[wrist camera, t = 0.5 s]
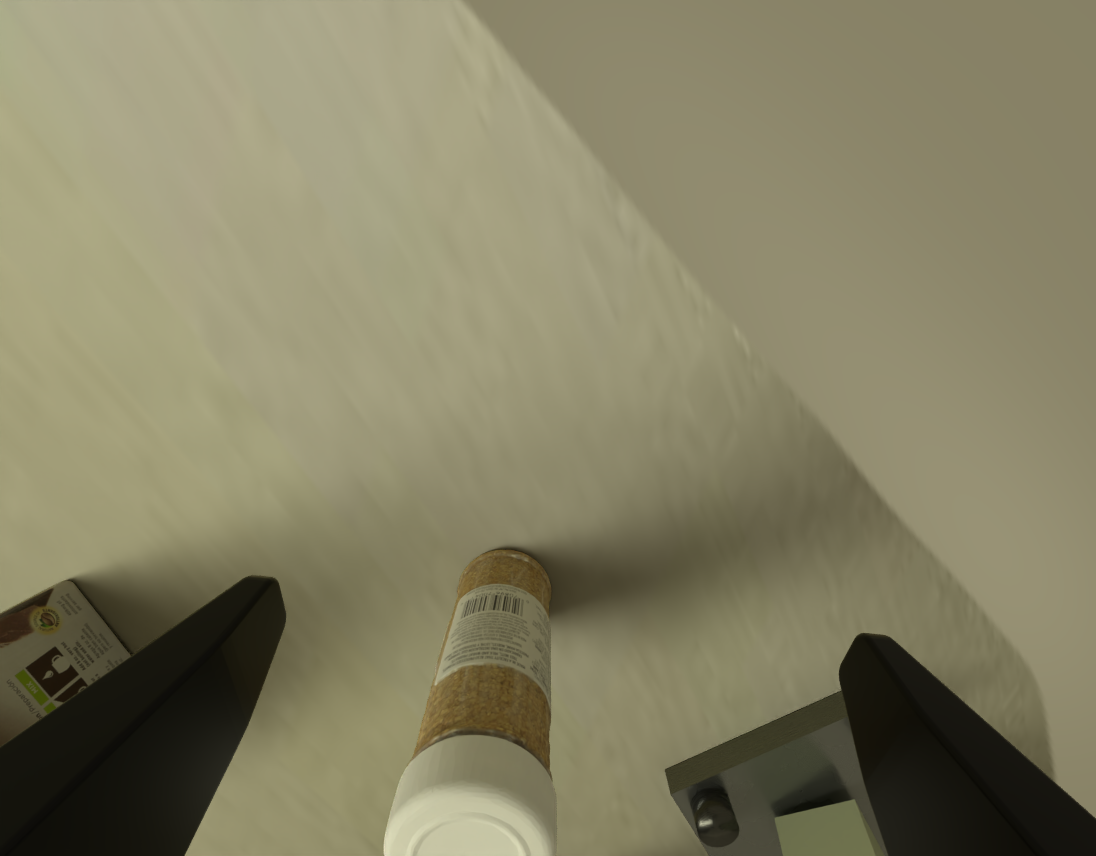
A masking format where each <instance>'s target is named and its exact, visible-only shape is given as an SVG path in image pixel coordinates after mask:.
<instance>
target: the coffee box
mask: <svg viewBox="0 0 1096 856" xmlns="http://www.w3.org/2000/svg"><path fill="white" fill-rule="evenodd" d="M129 657H131V655H130V654H129V653H128V651H127V650H126V649H125V648H124V646H123V645H122V644H121V643H120V641H119V640H118V639H117V637H116V636H115V635H114V634H113V632H112V631H111V630H110V629H109V627H108V626H107V625H106V623H105V622H104V621H103V620H102V618H101V617H100V616H99V614H98V613H97V612H96V611H95V610H94V608H93V607H92V606H91V604H90V603H89V602H88V601H87V599H86V598H85V597H84V596H83V594H82V593H81V592H80V590H79V589H78V588H77V587H76V585H75V584H74V583H73V582H71V581H66V580H65V581H62V582H60V583H58V584H56V585H54V586H52V587H50V588H48V589H46V590H44V591H42V592H40V593H38V594H36V595H34V596H32V597H30V598H29V599H27V600H25V601H23V602H21V603H19V604H17V605H15V606H13V607H11V608H10V609H8V610H6V611H4V612H2V613H0V746H2V745H3V744H5V743H6V742H8V741H9V740H10V739H12V738H13V737H15V736H16V735H18V734H19V733H21V732H22V731H23V730H25V729H26V728H28V727H29V726H31V725H32V724H34V723H35V722H36V721H38V720H39V719H41V718H42V717H44V716H45V715H47V714H48V713H49V712H51V711H52V710H54V709H55V708H57V707H58V706H60V705H61V704H63V703H64V702H65V701H67V700H68V699H70V698H71V697H73V696H74V695H76V694H77V693H78V692H80V691H81V690H83V689H84V688H86V687H87V686H89V685H90V684H91V683H93V682H94V681H96V680H97V679H99V678H100V677H102V676H103V675H104V674H106V673H107V672H109V671H110V670H112V669H113V668H115V667H116V666H117V665H119V664H120V663H122V662H123V661H125V660H126V659H128V658H129Z"/></svg>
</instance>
